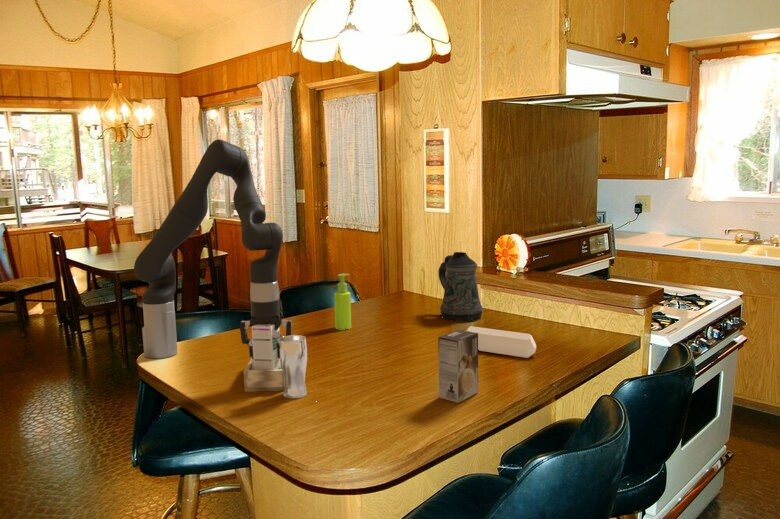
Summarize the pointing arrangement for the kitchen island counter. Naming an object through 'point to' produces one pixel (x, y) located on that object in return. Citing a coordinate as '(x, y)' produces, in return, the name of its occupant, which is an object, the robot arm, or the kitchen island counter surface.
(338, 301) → the soap dispenser
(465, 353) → the coffee box
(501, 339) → the crystal
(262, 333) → the syrup box
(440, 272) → the beer stein
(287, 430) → the kitchen island counter surface
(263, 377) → the crate
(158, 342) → the robot arm
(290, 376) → the beer glass
